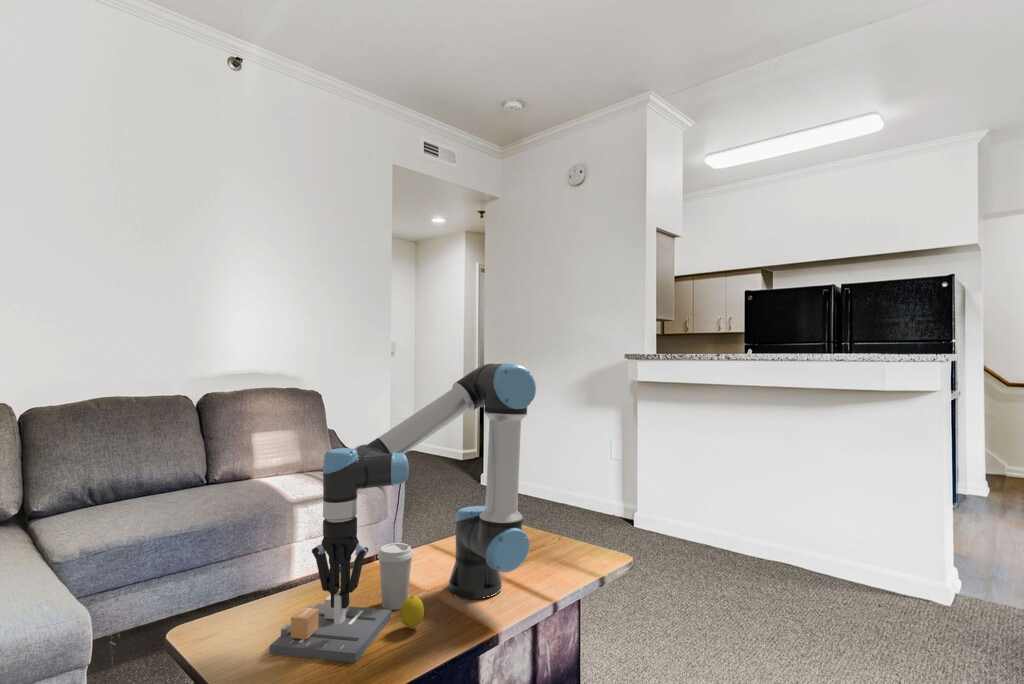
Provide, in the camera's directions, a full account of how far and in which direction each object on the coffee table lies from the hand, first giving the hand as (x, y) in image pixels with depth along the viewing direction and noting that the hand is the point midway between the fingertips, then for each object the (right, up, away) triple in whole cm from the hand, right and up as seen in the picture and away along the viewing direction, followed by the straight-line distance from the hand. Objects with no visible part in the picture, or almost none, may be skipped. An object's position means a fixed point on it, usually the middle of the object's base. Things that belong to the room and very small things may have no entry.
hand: (339, 621), depth 125 cm
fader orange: (-8, -3, +1) cm, 9 cm away
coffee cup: (+8, -7, +21) cm, 24 cm away
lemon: (+15, -6, +8) cm, 18 cm away
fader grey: (-4, -4, +10) cm, 12 cm away
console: (-3, -6, +5) cm, 8 cm away
